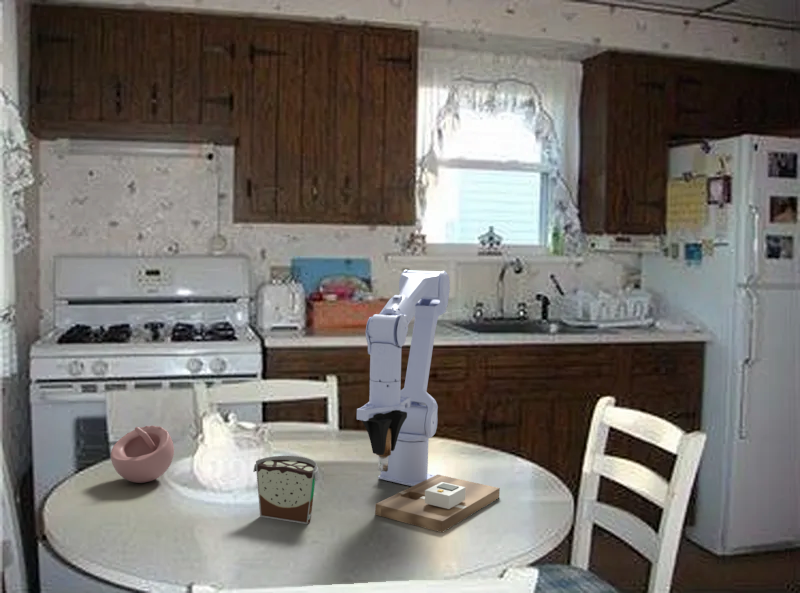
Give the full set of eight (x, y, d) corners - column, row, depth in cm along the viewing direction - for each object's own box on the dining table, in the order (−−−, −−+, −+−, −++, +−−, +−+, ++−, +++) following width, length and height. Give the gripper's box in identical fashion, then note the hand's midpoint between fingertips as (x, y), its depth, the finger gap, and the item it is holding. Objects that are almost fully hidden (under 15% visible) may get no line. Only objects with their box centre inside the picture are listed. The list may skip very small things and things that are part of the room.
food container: (330, 513, 139) (331, 459, 138) (315, 525, 133) (316, 468, 132) (269, 504, 143) (270, 451, 142) (252, 515, 137) (253, 460, 136)
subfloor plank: (375, 514, 139) (375, 503, 139) (437, 484, 157) (437, 474, 157) (442, 532, 131) (442, 520, 131) (499, 498, 150) (499, 487, 150)
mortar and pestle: (97, 485, 151) (97, 428, 150) (139, 469, 162) (139, 415, 161) (146, 494, 147) (146, 435, 146) (186, 477, 158) (186, 422, 157)
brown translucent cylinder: (372, 470, 143) (373, 427, 142) (381, 466, 145) (382, 424, 144) (385, 473, 141) (385, 430, 140) (393, 469, 143) (394, 427, 143)
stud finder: (424, 503, 139) (425, 489, 139) (441, 494, 144) (441, 480, 144) (448, 509, 136) (449, 494, 136) (465, 500, 141) (465, 486, 141)
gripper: (380, 388, 133) (378, 464, 134) (424, 376, 145) (422, 447, 146) (347, 383, 137) (346, 457, 138) (393, 372, 149) (392, 440, 150)
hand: (383, 451), depth 143 cm, fingers closed on brown translucent cylinder, 3 cm apart
